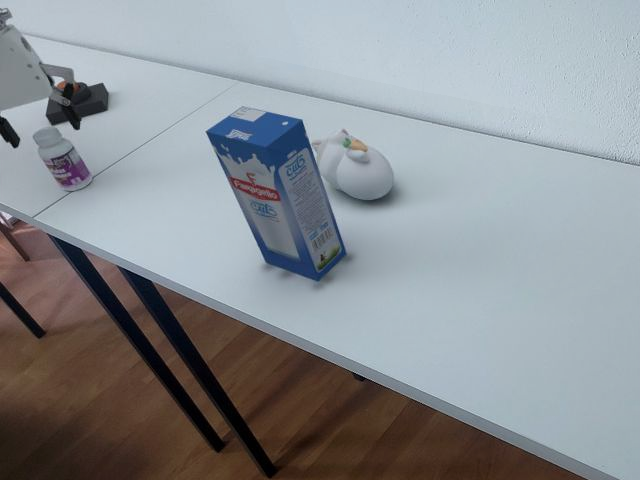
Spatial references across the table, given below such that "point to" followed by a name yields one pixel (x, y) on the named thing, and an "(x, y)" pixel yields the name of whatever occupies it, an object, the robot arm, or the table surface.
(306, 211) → the milk carton
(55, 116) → the black button base
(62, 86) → the lid button
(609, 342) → the table surface
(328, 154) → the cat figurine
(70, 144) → the pill bottle
